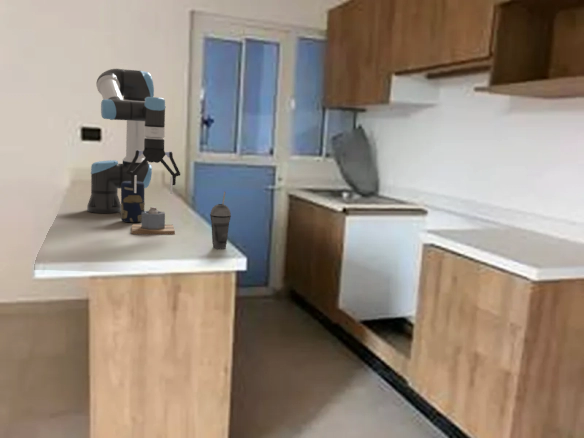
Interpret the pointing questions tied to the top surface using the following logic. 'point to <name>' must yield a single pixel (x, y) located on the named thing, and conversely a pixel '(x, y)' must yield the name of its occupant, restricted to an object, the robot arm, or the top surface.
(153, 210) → the post block
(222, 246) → the beverage cup
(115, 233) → the top surface
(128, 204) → the canister
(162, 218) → the ring
